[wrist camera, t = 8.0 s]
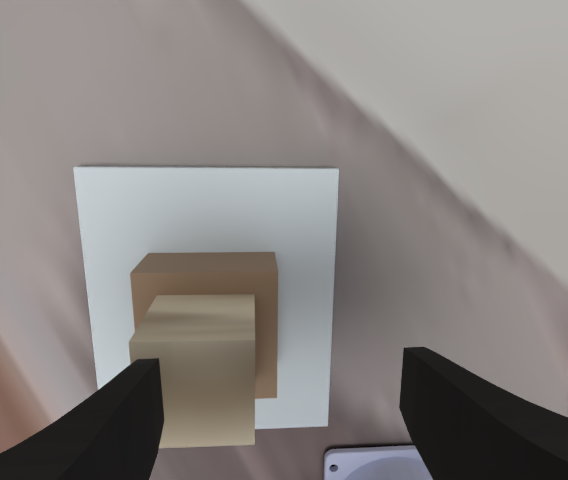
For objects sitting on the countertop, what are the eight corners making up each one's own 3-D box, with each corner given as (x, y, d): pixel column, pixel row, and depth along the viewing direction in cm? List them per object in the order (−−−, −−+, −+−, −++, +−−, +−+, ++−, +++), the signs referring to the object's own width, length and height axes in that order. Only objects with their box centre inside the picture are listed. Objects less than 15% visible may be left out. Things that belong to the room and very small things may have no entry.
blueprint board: (325, 416, 23) (339, 468, 20) (108, 425, 22) (80, 481, 19) (335, 167, 20) (354, 174, 16) (80, 165, 19) (39, 172, 15)
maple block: (254, 379, 18) (254, 444, 14) (161, 381, 18) (137, 449, 14) (254, 294, 17) (255, 340, 13) (157, 295, 17) (128, 341, 13)
